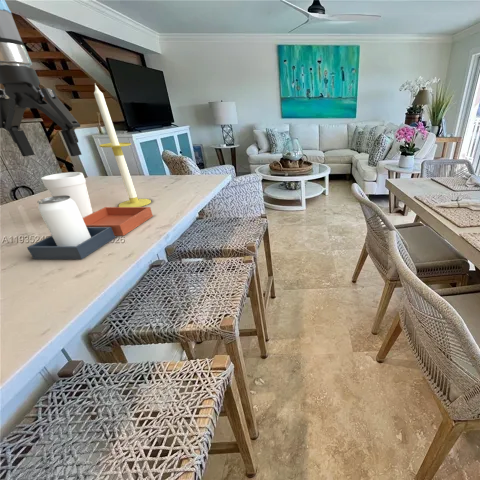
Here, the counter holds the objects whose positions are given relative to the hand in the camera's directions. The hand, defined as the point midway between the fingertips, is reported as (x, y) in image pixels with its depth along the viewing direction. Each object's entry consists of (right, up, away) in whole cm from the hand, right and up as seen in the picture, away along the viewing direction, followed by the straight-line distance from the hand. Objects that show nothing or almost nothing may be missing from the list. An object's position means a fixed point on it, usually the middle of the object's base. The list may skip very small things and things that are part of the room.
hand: (52, 155), depth 74 cm
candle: (+9, -11, +21) cm, 25 cm away
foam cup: (-1, -16, +10) cm, 19 cm away
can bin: (+15, -26, -9) cm, 31 cm away
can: (+15, -25, -9) cm, 31 cm away
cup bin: (+15, -19, +4) cm, 25 cm away
